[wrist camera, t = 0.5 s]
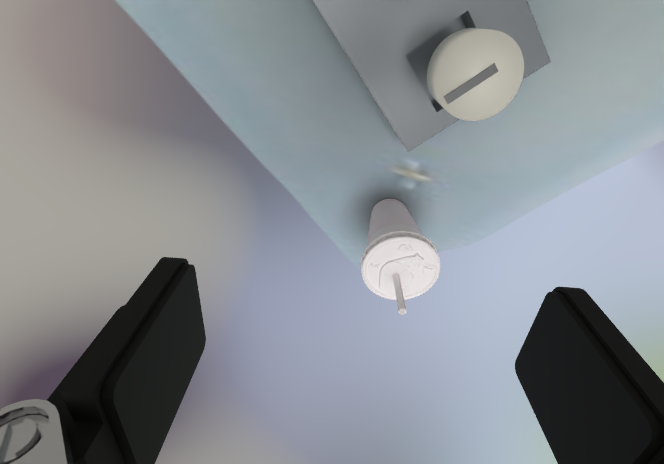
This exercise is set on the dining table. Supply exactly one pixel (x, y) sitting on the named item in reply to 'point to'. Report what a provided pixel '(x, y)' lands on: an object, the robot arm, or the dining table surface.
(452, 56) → the knob
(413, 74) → the mount
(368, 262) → the smoothie
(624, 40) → the dining table surface
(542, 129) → the dining table surface
